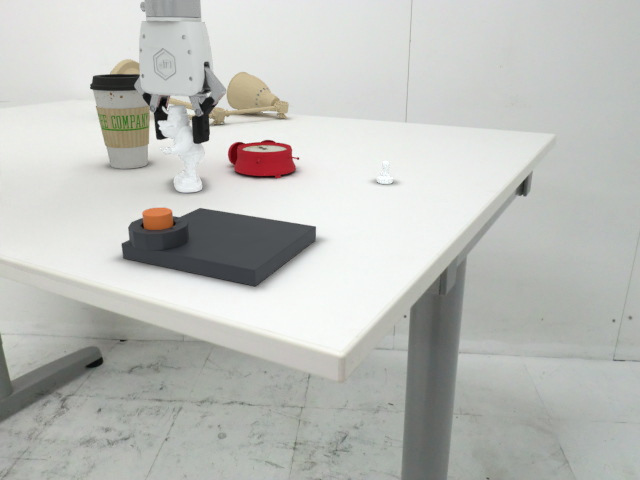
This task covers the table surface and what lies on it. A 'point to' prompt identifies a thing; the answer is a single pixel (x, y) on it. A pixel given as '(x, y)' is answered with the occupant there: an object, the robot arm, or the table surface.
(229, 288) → the table surface
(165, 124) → the figurine
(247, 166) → the alarm clock
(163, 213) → the button
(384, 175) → the chess pawn
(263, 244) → the scale
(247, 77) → the desk lamp
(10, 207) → the table surface
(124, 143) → the coffee cup
